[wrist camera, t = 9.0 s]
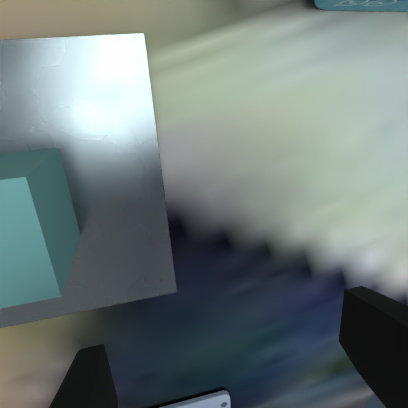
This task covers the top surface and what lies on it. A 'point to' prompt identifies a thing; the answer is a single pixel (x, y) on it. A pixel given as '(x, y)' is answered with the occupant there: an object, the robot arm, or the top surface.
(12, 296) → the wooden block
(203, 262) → the top surface
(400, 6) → the data package
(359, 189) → the top surface
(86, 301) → the base block
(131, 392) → the top surface
